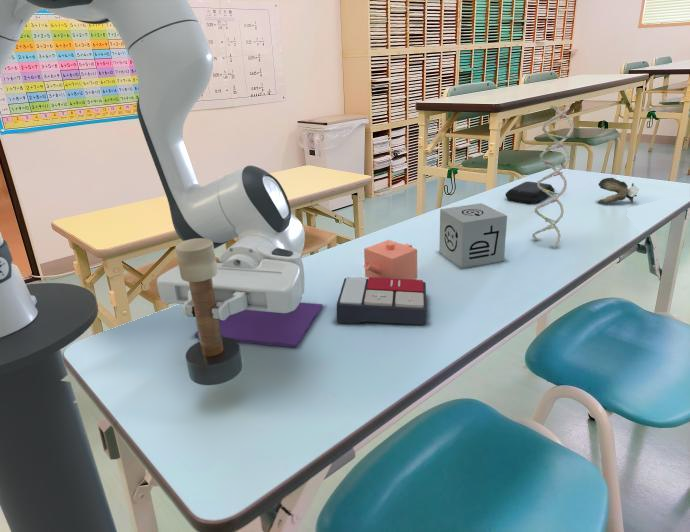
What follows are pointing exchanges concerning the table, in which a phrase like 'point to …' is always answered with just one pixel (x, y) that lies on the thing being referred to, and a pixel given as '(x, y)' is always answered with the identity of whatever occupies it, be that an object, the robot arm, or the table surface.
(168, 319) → the table surface
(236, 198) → the robot arm
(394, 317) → the dark paneled box
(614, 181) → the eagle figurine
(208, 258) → the wooden rod on disc
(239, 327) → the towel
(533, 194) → the carrying case
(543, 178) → the dna model
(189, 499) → the table surface
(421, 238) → the table surface
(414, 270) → the pink cube teapot
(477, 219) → the icon cube
